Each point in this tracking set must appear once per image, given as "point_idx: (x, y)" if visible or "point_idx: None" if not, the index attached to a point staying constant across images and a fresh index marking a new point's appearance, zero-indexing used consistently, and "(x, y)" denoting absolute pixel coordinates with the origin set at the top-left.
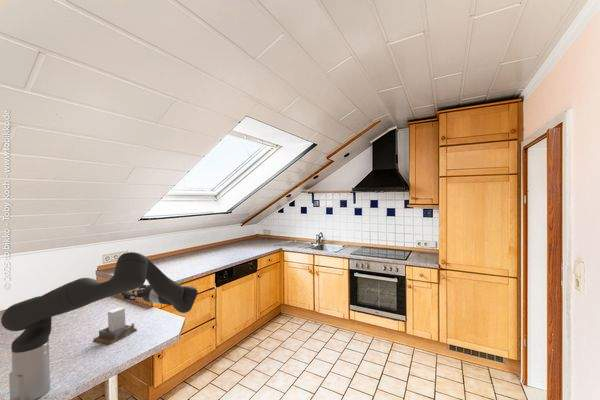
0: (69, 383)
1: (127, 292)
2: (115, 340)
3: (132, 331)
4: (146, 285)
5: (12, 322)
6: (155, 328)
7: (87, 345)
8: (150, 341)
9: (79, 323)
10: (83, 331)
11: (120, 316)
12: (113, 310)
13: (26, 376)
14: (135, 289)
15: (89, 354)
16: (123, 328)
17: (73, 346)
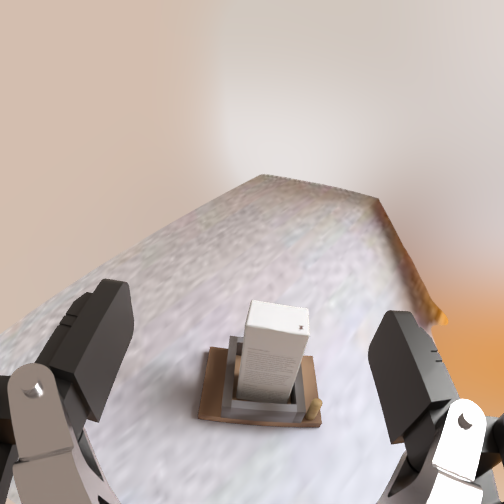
0: None
1: (10, 391)
2: (225, 420)
3: (301, 424)
4: (443, 489)
5: None
6: (366, 477)
7: (180, 357)
8: None
9: (274, 258)
10: (246, 290)
11: (279, 356)
12: (268, 311)
13: None
14: (78, 494)
15: (129, 404)
16: (279, 395)
17: (169, 327)
